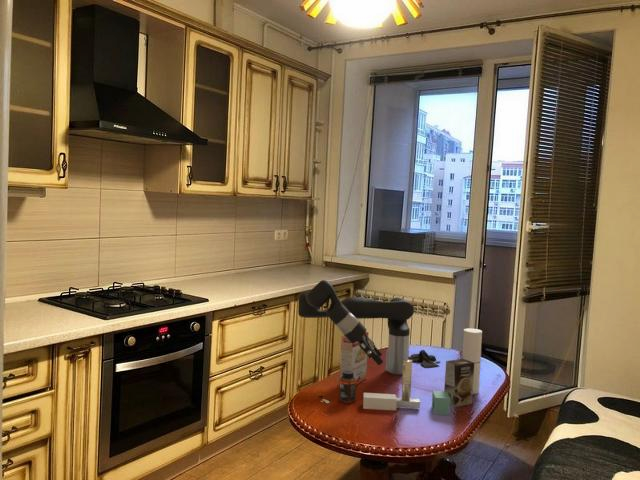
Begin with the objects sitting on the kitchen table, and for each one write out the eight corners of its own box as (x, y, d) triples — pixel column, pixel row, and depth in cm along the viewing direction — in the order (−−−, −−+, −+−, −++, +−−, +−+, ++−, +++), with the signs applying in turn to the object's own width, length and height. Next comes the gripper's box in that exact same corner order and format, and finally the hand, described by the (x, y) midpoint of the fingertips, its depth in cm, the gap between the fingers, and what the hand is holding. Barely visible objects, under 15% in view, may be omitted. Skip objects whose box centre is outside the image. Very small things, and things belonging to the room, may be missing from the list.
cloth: (435, 371, 236) (435, 358, 236) (397, 363, 246) (398, 351, 246) (450, 359, 255) (451, 347, 255) (415, 353, 265) (415, 341, 264)
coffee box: (454, 407, 193) (456, 365, 191) (443, 401, 198) (445, 360, 197) (472, 404, 197) (475, 362, 196) (461, 398, 202) (463, 357, 201)
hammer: (366, 405, 190) (367, 359, 188) (365, 402, 193) (367, 357, 192) (419, 408, 188) (422, 362, 187) (418, 405, 191) (420, 360, 190)
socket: (434, 413, 186) (435, 397, 186) (431, 406, 193) (432, 390, 193) (449, 414, 186) (450, 398, 185) (445, 407, 193) (446, 391, 192)
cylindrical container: (479, 394, 207) (483, 333, 205) (461, 392, 208) (464, 331, 207) (477, 388, 214) (481, 329, 212) (460, 386, 215) (463, 327, 214)
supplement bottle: (357, 399, 198) (358, 370, 197) (352, 405, 192) (353, 375, 191) (342, 397, 200) (343, 368, 199) (337, 402, 194) (338, 373, 193)
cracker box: (351, 389, 208) (353, 338, 207) (338, 386, 212) (340, 335, 210) (367, 379, 220) (369, 331, 219) (354, 376, 224) (356, 329, 222)
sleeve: (363, 408, 189) (363, 397, 189) (363, 403, 194) (363, 392, 193) (396, 410, 188) (396, 399, 188) (395, 405, 193) (395, 394, 193)
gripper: (343, 329, 197) (372, 360, 197) (342, 338, 182) (373, 372, 182) (358, 316, 196) (387, 347, 196) (358, 325, 182) (389, 359, 182)
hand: (380, 359), depth 189 cm, fingers open, 8 cm apart
